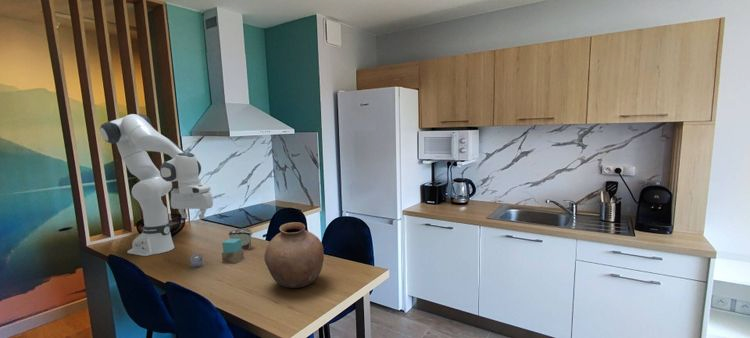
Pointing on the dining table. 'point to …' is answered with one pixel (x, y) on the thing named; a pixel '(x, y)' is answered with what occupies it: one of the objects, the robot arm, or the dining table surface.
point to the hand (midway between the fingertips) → (193, 217)
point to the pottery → (294, 256)
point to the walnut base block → (233, 257)
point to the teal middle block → (232, 245)
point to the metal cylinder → (196, 261)
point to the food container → (242, 237)
